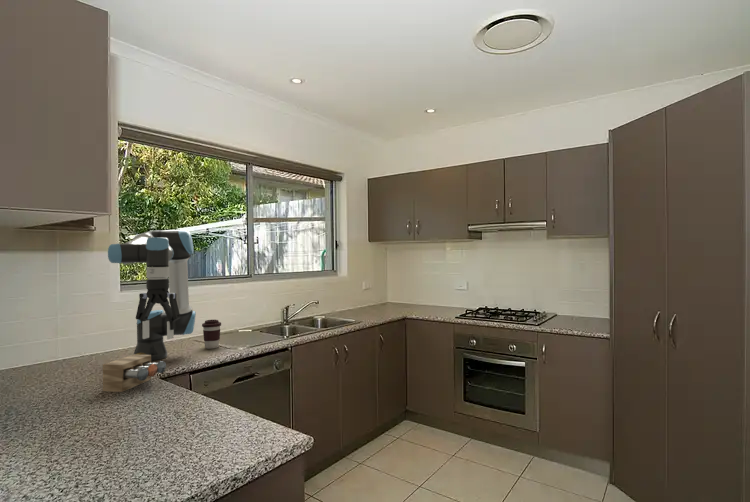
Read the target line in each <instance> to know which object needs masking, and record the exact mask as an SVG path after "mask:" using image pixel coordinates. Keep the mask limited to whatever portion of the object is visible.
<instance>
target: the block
mask: <svg viewBox="0 0 750 502" xmlns="http://www.w3.org/2000/svg"><path fill="white" fill-rule="evenodd" d="M143 363H152V361H151V355H133V354H130V355H128V356H124V357H121V358H119V359H116V360H112V361H110V362H106V363H103V364H102V392H112V393H113V392H114V393H116V392H117V393H122V392H126V391H127V390H130V389H132V388H135V387H137V386H138V385H142V384H144V383H146V382H148V381H151V380H152V377H149V376H147V378H146V379H145V380H144V381H140V380H138V378H123V370H124V369H125V370H133V366H143Z"/></svg>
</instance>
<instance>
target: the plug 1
mask: <svg viewBox="0 0 750 502" xmlns="http://www.w3.org/2000/svg"><path fill="white" fill-rule="evenodd" d="M147 376H148V369H147V368H141V369H140V370H125V369H124V370H123V378H138V380H140V381H144V380H145V379H146V378H147Z"/></svg>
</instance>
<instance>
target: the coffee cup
mask: <svg viewBox="0 0 750 502" xmlns="http://www.w3.org/2000/svg"><path fill="white" fill-rule="evenodd" d="M201 324H202V325H201V327H203V328H202V329H203V330H202V334H203V335H202V336H203V342H204V348H205V349H207V350H208V349H209V350H210V349H217V348H219V346H220V338H221V326H222V322H221V321H219V319H208V320H207V319H206V320H205V321H204V322H203V323H201Z"/></svg>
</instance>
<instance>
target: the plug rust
mask: <svg viewBox="0 0 750 502" xmlns="http://www.w3.org/2000/svg"><path fill="white" fill-rule="evenodd" d="M141 368H147V369H148V376H149V377H151V378H153V377H155V376H156V375H157V373H158V372H157V366H156V365H155V364H151V365H150V366H133V370H140V369H141Z"/></svg>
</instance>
